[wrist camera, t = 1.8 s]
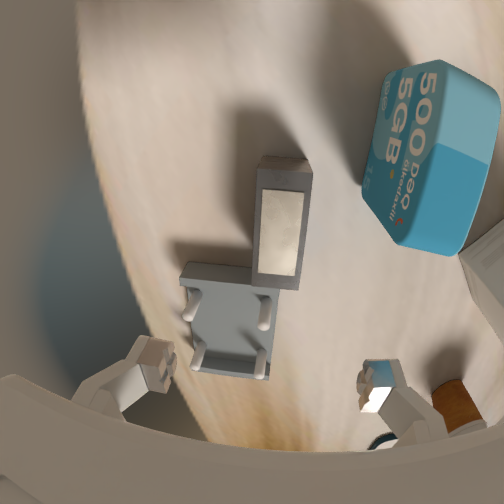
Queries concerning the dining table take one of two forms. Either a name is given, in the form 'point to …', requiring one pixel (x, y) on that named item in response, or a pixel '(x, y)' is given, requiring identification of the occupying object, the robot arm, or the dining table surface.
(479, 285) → the supplement box
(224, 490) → the robot arm
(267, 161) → the block
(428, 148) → the data package
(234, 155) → the dining table surface
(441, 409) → the disposable coffee cup
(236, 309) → the tray
